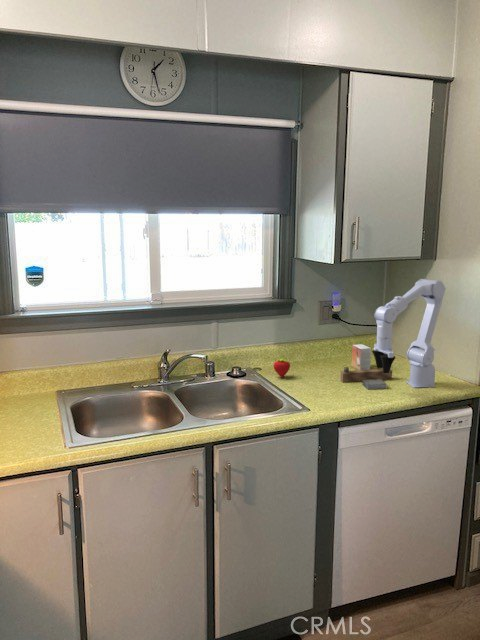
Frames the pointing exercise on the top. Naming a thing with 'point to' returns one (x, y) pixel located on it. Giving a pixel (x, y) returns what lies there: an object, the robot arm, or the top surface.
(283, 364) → the strawberry
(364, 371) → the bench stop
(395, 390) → the top surface
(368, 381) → the steel plate
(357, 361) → the small box
